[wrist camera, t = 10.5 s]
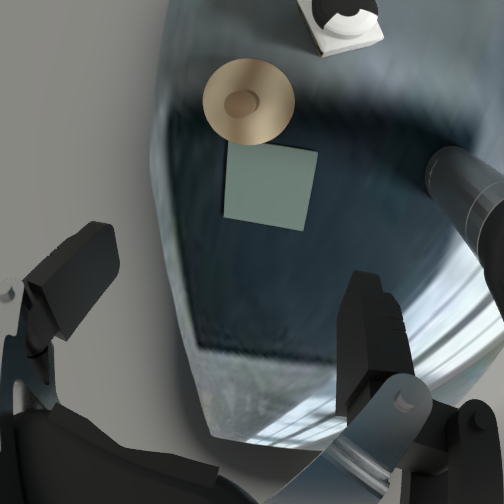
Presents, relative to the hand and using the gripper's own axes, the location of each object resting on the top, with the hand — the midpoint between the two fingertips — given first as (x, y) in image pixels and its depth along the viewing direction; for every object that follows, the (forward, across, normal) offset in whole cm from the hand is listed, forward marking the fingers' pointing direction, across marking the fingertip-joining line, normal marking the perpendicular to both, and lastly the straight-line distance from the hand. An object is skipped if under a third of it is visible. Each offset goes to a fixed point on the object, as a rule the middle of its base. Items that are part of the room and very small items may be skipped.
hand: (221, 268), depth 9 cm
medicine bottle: (+32, -4, -14) cm, 35 cm away
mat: (+32, +2, +10) cm, 34 cm away
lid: (+28, +5, -2) cm, 28 cm away
